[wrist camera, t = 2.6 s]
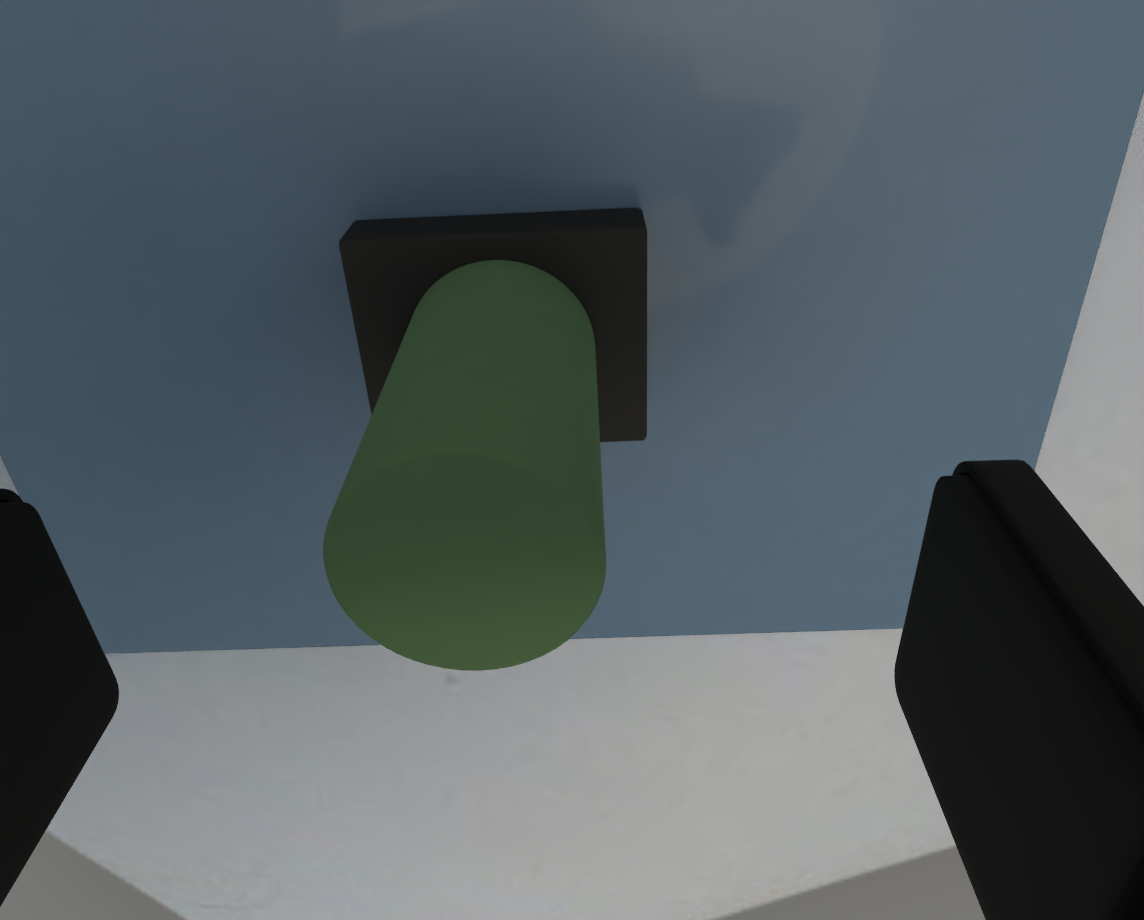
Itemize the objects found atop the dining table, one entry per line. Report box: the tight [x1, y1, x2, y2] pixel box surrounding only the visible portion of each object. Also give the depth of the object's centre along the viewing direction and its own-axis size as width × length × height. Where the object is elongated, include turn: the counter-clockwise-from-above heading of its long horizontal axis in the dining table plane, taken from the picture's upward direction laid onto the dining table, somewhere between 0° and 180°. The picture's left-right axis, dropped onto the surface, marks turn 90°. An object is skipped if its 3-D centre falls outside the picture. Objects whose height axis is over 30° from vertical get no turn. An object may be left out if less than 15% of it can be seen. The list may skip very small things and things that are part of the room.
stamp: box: [323, 208, 647, 670], centre depth 13 cm, size 5×4×7 cm
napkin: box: [0, 0, 1144, 654], centre depth 16 cm, size 21×16×1 cm
